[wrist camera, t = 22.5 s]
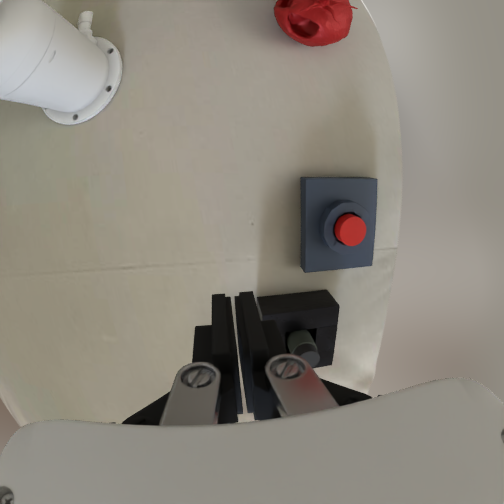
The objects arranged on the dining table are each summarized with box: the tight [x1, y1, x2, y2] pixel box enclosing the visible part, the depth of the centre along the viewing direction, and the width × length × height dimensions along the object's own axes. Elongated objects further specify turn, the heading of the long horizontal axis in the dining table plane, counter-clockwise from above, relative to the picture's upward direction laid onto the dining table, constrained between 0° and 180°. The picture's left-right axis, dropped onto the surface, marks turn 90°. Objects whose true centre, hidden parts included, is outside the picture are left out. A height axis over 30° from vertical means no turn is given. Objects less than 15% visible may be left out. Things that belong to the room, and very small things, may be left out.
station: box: [300, 177, 377, 273], centre depth 36 cm, size 12×10×4 cm
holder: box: [257, 290, 339, 368], centre depth 39 cm, size 10×10×5 cm
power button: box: [334, 214, 366, 246], centre depth 33 cm, size 4×4×2 cm
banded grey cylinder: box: [286, 330, 320, 368], centre depth 38 cm, size 3×3×9 cm
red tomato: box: [274, 0, 358, 46], centre depth 24 cm, size 10×10×9 cm
